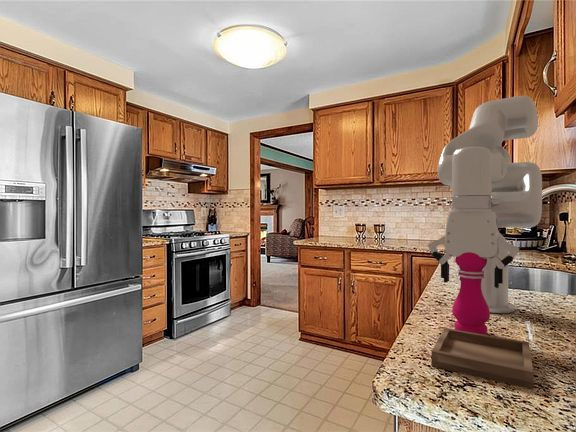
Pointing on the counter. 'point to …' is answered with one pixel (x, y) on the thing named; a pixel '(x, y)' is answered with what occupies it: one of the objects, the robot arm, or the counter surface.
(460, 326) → the pepper mill
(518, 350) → the tray
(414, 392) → the counter surface
